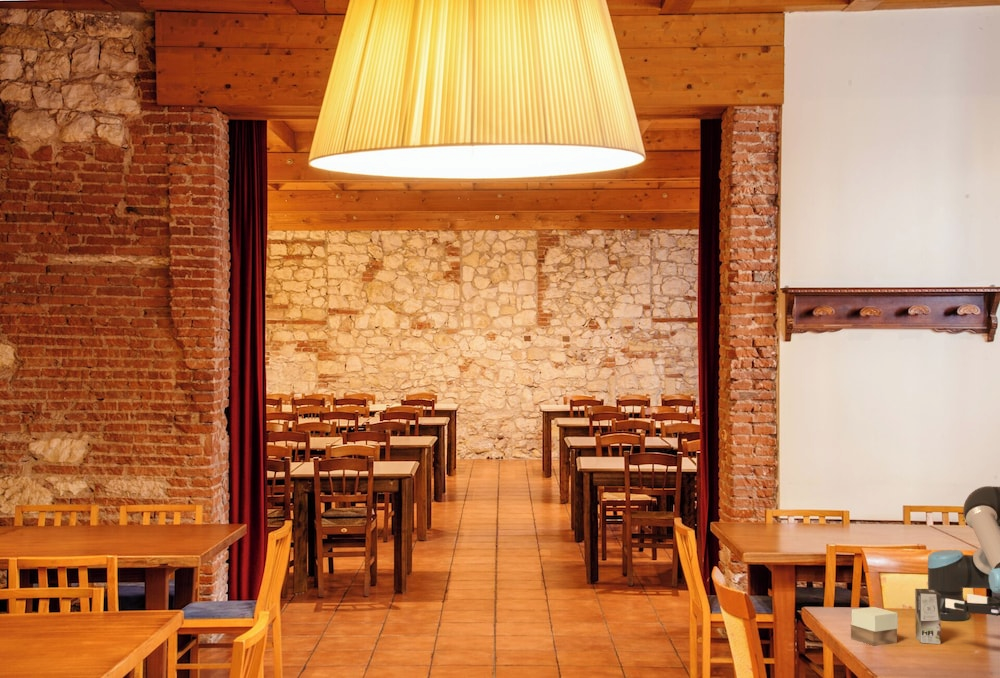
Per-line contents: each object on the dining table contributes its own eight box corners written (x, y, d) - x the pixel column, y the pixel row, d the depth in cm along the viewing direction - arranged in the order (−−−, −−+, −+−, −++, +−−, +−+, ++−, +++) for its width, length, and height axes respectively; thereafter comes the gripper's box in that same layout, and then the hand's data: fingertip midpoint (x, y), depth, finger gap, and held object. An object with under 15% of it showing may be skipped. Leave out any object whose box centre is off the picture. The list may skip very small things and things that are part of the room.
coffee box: (941, 644, 336) (941, 594, 336) (920, 643, 337) (920, 593, 338) (935, 637, 344) (935, 588, 345) (915, 636, 346) (914, 587, 346)
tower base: (874, 636, 346) (874, 621, 346) (896, 644, 337) (896, 628, 337) (850, 639, 342) (850, 624, 342) (873, 647, 333) (873, 631, 333)
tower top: (874, 622, 346) (873, 606, 346) (897, 628, 337) (897, 612, 337) (851, 624, 342) (851, 609, 342) (875, 631, 333) (874, 615, 333)
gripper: (1004, 629, 309) (936, 617, 325) (1043, 618, 324) (976, 607, 341) (1004, 604, 309) (936, 592, 326) (1042, 594, 324) (976, 584, 341)
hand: (956, 600), depth 333 cm, fingers open, 13 cm apart
